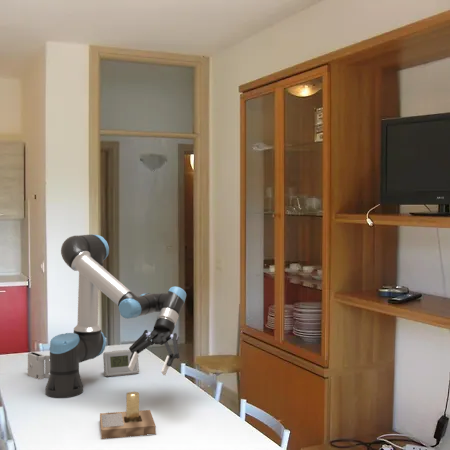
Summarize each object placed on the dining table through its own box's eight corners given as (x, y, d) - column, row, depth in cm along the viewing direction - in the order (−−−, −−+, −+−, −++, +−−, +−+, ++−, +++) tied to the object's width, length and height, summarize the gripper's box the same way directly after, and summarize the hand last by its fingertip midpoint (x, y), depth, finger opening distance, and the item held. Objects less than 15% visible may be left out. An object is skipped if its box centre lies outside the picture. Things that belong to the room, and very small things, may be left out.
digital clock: (103, 377, 267) (103, 354, 267) (103, 372, 276) (103, 349, 275) (139, 376, 270) (139, 352, 270) (138, 370, 279) (138, 348, 279)
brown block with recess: (101, 438, 197) (101, 429, 197) (99, 421, 213) (99, 412, 213) (155, 434, 202) (155, 425, 202) (150, 417, 217) (150, 409, 217)
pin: (126, 430, 205) (126, 395, 205) (125, 425, 209) (125, 392, 209) (139, 429, 206) (139, 395, 206) (138, 424, 211) (138, 391, 210)
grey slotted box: (54, 378, 266) (54, 355, 265) (45, 381, 261) (45, 358, 260) (32, 373, 273) (32, 351, 272) (23, 376, 268) (23, 354, 268)
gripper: (198, 331, 227) (180, 380, 214) (141, 325, 236) (120, 372, 223) (192, 319, 222) (174, 369, 209) (134, 314, 231) (113, 361, 218)
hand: (146, 371), depth 216 cm, fingers open, 13 cm apart
